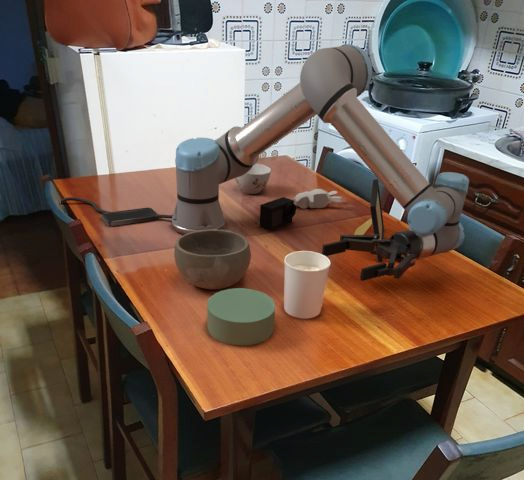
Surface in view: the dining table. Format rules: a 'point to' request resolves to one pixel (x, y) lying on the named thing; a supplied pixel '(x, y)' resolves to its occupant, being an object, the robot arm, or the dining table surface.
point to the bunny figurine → (315, 198)
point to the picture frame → (374, 216)
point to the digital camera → (276, 213)
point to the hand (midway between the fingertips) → (341, 262)
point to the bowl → (212, 258)
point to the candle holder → (305, 283)
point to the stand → (240, 316)
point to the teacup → (254, 179)
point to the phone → (129, 216)
